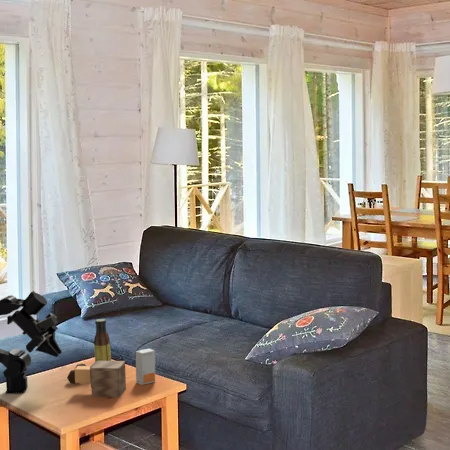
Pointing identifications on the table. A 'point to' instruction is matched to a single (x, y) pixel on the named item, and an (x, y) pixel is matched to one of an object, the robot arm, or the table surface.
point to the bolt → (73, 375)
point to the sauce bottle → (102, 342)
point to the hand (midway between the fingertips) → (59, 354)
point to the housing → (108, 378)
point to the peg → (82, 374)
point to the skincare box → (145, 366)
